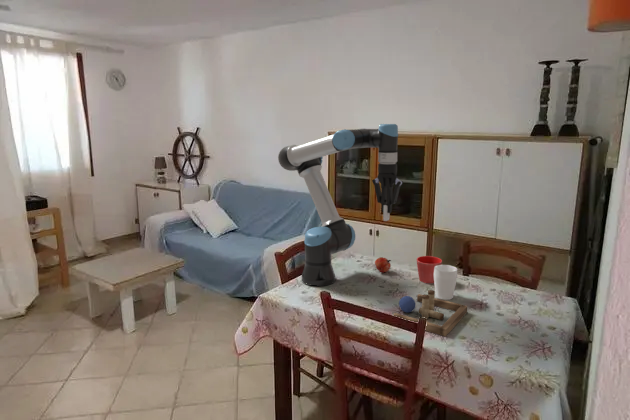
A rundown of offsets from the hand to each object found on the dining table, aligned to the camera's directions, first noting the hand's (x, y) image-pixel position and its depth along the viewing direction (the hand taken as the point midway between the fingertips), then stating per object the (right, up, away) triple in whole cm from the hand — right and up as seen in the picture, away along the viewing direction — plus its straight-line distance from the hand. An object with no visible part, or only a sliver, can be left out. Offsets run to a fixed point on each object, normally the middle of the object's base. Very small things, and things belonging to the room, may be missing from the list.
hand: (386, 220), depth 173 cm
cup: (+23, -31, -4) cm, 38 cm away
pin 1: (+10, -35, -23) cm, 43 cm away
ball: (+5, -31, -18) cm, 36 cm away
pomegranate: (+2, -25, +24) cm, 35 cm away
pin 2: (+13, -34, -19) cm, 41 cm away
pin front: (+9, -33, -19) cm, 39 cm away
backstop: (+12, -34, -21) cm, 42 cm away
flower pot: (+21, -27, +13) cm, 37 cm away
